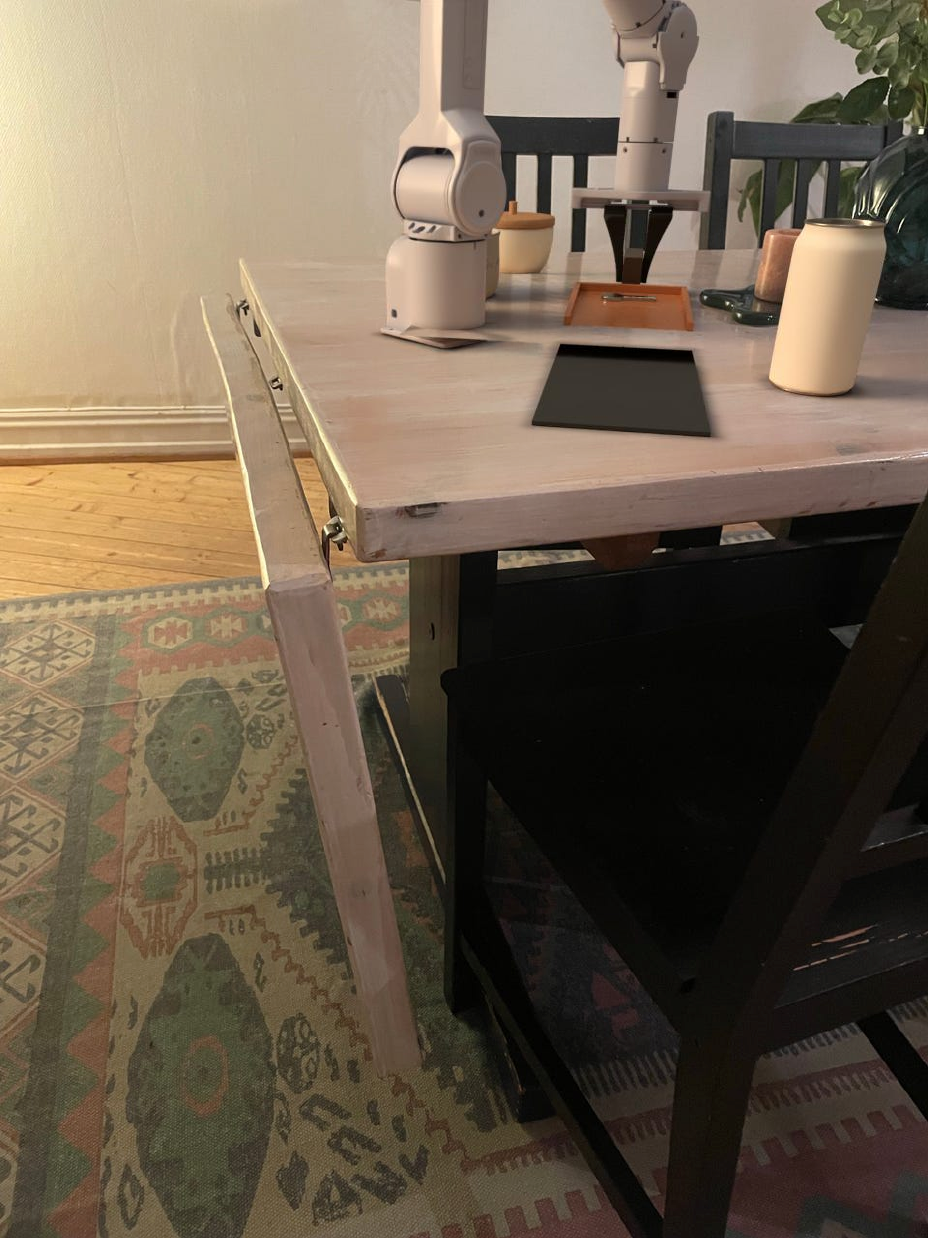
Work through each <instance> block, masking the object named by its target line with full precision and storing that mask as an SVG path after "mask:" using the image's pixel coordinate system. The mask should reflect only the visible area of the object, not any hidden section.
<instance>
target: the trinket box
mask: <svg viewBox="0 0 928 1238" xmlns="http://www.w3.org/2000/svg"><path fill="white" fill-rule="evenodd" d="M508 204H509V205H508V211H504V212H503V214H502V217H501V219H500V220H499V222H498V224H497V225H496V226H495V228H496V229H498V230H500V236H499V274H530V273H531V274H533V273H534V274H540V273H541V272H542V271H543V270H544V268H545V266H546V265H547V263H548V261H549V259H550V255H551V252H552V247H553V240H554V230H555V229H554V228H555V227H554V226H555V224H556V217H555V216H554V215H552V214H548V213H542V212H541V213H540V212H529V211H518V201H517V200H510V201H509V203H508Z"/></svg>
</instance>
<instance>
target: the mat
mask: <svg viewBox="0 0 928 1238" xmlns="http://www.w3.org/2000/svg"><path fill="white" fill-rule="evenodd" d="M694 356H695V355H694V352H693V350H692V349H672V348H655V347H637V346H635V347H634V346H615V345H595V344H579V343H578V344H577V343H575V344H574V343H559V346H558V348H557V351H556V354H555V357H554V360H553V362H552V365H551V368H550V370H549V373H548V375H547V379H546V381H545V384H544V387H543V390H542V392H541V395H540V397H539V400H538V402H537V404H536V408H535V411H534V414H533V416H532V419H531V425H532V426H544V427H546V426H547V427H559V428H560V427H561V428H572V429H573V428H575V429H590V430H603V431H605V430H607V431H620V432H621V431H622V432H636V433H650V434H651V433H652V434H653V433H654V434H665V435H666V434H667V435H679V436H680V435H682V436H697V437H711V435H712V432H711V427H710V422H709V418H708V414H707V409H706V405H705V400H704V396H703V392H702V388H701V383H700V378H699V374H698V370H697V365H696V361H695V357H694Z"/></svg>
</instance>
